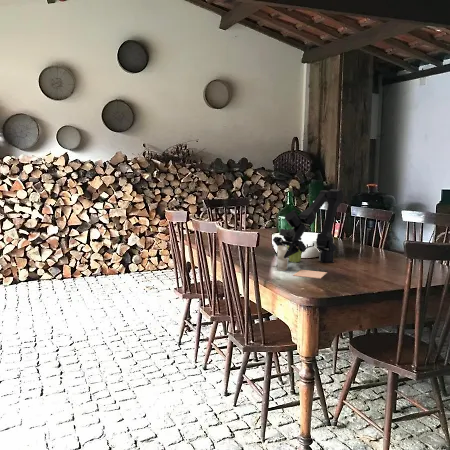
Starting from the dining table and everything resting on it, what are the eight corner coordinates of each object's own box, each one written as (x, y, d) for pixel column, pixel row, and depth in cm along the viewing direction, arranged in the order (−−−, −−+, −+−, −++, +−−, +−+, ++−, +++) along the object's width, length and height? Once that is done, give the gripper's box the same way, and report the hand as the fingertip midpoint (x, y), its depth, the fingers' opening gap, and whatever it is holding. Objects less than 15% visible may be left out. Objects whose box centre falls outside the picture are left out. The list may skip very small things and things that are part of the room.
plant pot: (304, 263, 258) (304, 247, 257) (286, 262, 259) (286, 246, 258) (302, 259, 268) (303, 244, 266) (285, 259, 268) (285, 244, 267)
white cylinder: (286, 268, 245) (286, 245, 243) (288, 270, 240) (288, 246, 238) (276, 268, 244) (276, 245, 243) (278, 270, 240) (278, 247, 238)
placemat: (300, 270, 241) (300, 269, 241) (326, 272, 236) (326, 272, 236) (293, 275, 229) (293, 275, 229) (320, 278, 224) (320, 277, 224)
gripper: (275, 221, 249) (259, 244, 244) (302, 224, 234) (286, 249, 229) (286, 234, 255) (270, 258, 249) (313, 239, 240) (297, 264, 235)
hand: (280, 257), depth 241 cm, fingers closed on white cylinder, 5 cm apart
